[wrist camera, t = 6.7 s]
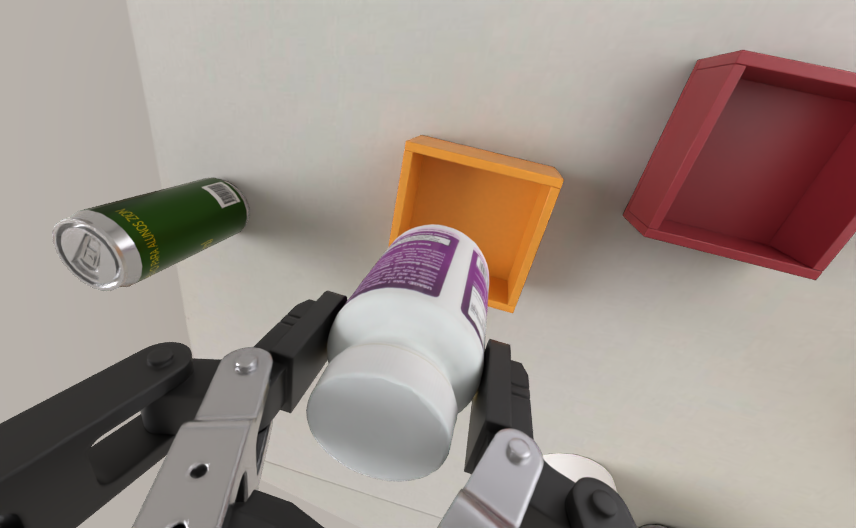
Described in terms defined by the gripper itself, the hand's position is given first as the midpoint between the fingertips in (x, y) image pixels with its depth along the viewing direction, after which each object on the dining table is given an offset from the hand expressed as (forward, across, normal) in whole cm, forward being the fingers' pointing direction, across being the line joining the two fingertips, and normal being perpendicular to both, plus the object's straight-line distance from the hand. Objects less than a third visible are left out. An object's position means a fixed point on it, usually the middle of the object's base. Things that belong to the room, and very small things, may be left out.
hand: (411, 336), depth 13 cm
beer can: (+17, +21, +5) cm, 28 cm away
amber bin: (+17, -1, 0) cm, 17 cm away
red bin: (+17, -17, -8) cm, 25 cm away
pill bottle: (+6, 0, 0) cm, 6 cm away
